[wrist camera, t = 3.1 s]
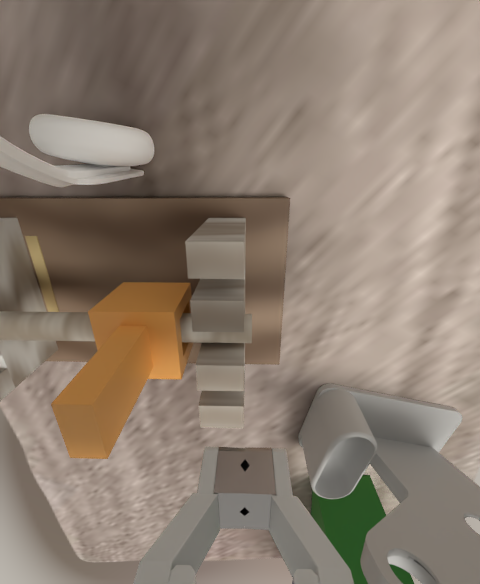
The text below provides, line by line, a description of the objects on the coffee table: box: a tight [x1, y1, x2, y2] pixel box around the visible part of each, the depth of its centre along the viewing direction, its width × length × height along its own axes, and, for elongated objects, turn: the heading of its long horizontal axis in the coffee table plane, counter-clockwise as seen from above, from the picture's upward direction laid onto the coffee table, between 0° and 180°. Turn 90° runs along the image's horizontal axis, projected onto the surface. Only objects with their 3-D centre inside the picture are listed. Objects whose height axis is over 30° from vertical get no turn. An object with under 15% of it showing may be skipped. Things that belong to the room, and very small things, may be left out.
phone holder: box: [298, 384, 480, 584], centre depth 24 cm, size 17×10×18 cm, turn 78°
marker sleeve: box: [51, 282, 193, 459], centre depth 16 cm, size 5×5×11 cm
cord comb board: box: [0, 197, 290, 428], centre depth 21 cm, size 16×30×10 cm, turn 90°
